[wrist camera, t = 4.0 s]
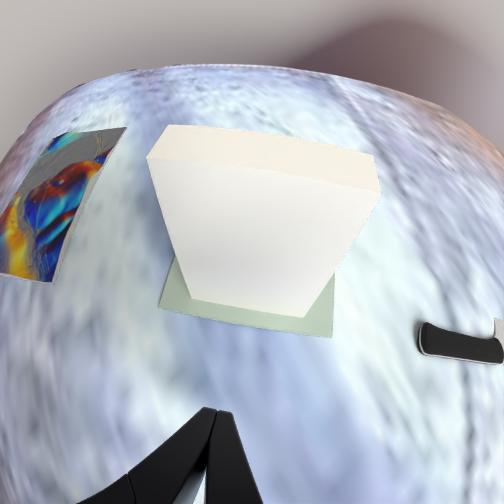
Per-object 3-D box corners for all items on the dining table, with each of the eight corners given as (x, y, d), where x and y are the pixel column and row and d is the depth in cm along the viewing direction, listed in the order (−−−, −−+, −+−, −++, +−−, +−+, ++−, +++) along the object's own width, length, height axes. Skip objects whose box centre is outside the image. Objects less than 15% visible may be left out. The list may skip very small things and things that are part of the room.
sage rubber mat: (330, 337, 21) (331, 336, 20) (159, 308, 21) (158, 306, 21) (331, 169, 31) (331, 168, 31) (216, 151, 32) (216, 149, 31)
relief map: (54, 142, 35) (50, 133, 33) (128, 131, 35) (125, 121, 34) (-17, 274, 21) (-26, 266, 20) (58, 288, 22) (48, 278, 20)
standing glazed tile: (303, 317, 21) (381, 193, 9) (191, 298, 21) (146, 157, 10) (305, 288, 22) (371, 152, 11) (199, 270, 23) (170, 122, 11)
